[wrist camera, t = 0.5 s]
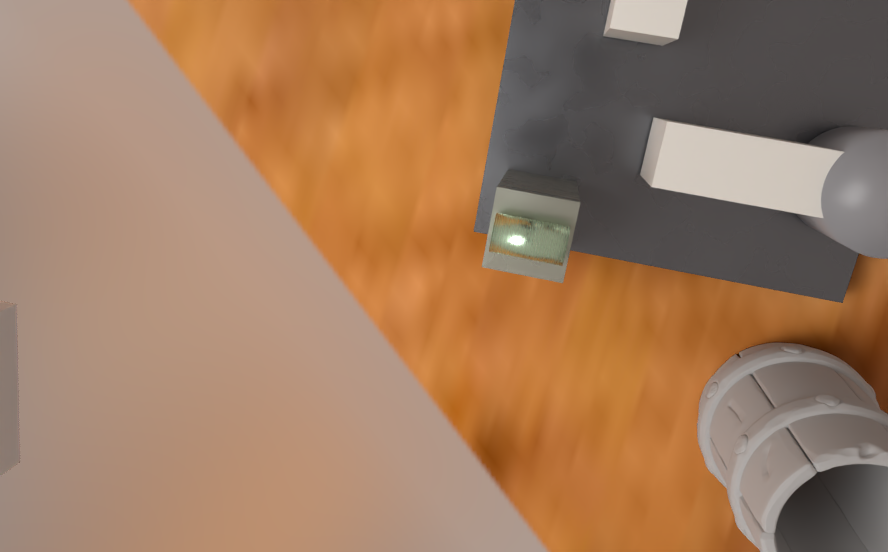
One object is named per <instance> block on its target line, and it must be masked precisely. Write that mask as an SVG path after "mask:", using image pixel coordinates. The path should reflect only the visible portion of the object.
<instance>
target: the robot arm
mask: <svg viewBox="0 0 888 552" xmlns="http://www.w3.org/2000/svg"><path fill="white" fill-rule="evenodd" d="M19 441H20V440H19V391H18V344H17V305H16V304H13V303H8V302H3V301H0V476H1V475H3V474H4V473H5V472H7V471H8V470H10V469H11V468H12V467H14V466H15V465H17V464H18V463H20V442H19Z"/></svg>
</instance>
